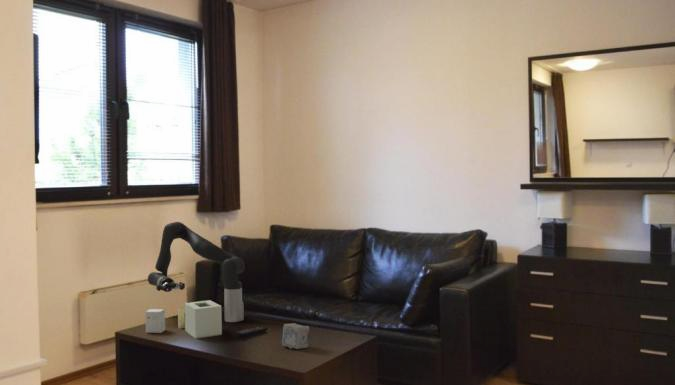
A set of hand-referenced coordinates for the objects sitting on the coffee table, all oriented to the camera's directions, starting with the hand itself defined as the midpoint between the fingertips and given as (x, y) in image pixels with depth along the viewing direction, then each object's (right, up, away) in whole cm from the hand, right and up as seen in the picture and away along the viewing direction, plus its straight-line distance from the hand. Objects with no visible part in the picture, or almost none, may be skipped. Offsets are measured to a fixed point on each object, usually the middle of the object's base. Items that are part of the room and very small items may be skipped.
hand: (174, 288), depth 314 cm
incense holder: (+67, -19, -45) cm, 82 cm away
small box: (-5, -19, -16) cm, 25 cm away
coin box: (+20, -19, -19) cm, 33 cm away
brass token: (+6, -18, -9) cm, 21 cm away
